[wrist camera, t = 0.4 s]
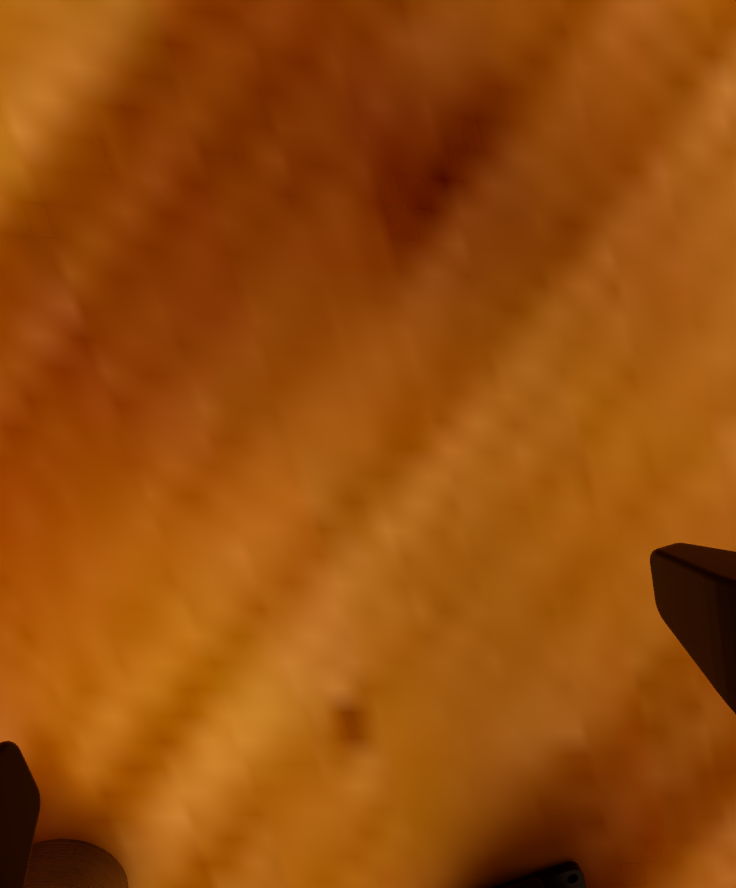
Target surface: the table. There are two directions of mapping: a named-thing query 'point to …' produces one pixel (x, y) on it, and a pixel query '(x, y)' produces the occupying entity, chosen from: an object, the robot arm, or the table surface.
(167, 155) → the table surface
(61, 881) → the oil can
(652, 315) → the table surface
